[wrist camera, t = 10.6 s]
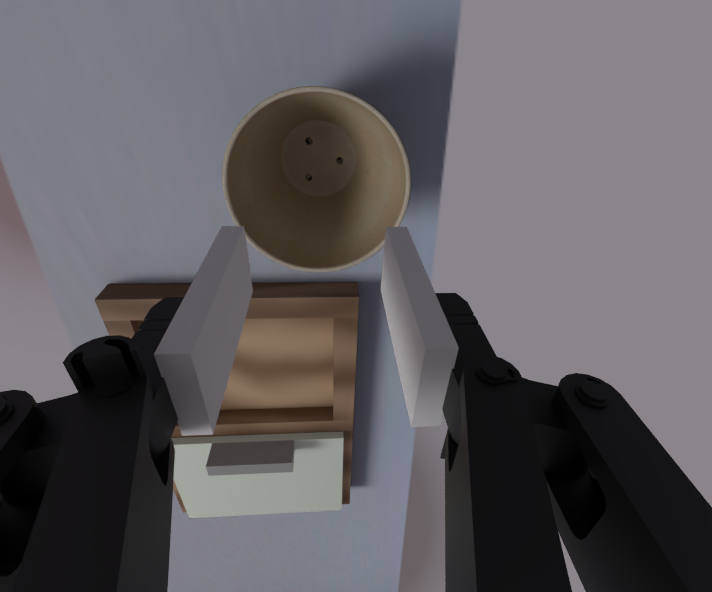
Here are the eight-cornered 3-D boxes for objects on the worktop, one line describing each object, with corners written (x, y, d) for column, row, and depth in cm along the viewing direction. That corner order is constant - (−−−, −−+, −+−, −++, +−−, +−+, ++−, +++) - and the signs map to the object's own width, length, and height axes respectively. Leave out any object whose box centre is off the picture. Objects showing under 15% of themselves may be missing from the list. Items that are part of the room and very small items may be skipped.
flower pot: (396, 213, 29) (415, 259, 23) (267, 233, 29) (253, 283, 24) (385, 61, 24) (405, 70, 18) (224, 87, 24) (192, 104, 18)
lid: (162, 438, 38) (150, 469, 36) (343, 431, 40) (344, 460, 37) (191, 511, 46) (182, 541, 43) (341, 503, 48) (342, 531, 45)
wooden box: (108, 284, 31) (94, 299, 29) (357, 282, 32) (359, 297, 31) (188, 494, 48) (183, 512, 46) (348, 486, 50) (349, 503, 48)
